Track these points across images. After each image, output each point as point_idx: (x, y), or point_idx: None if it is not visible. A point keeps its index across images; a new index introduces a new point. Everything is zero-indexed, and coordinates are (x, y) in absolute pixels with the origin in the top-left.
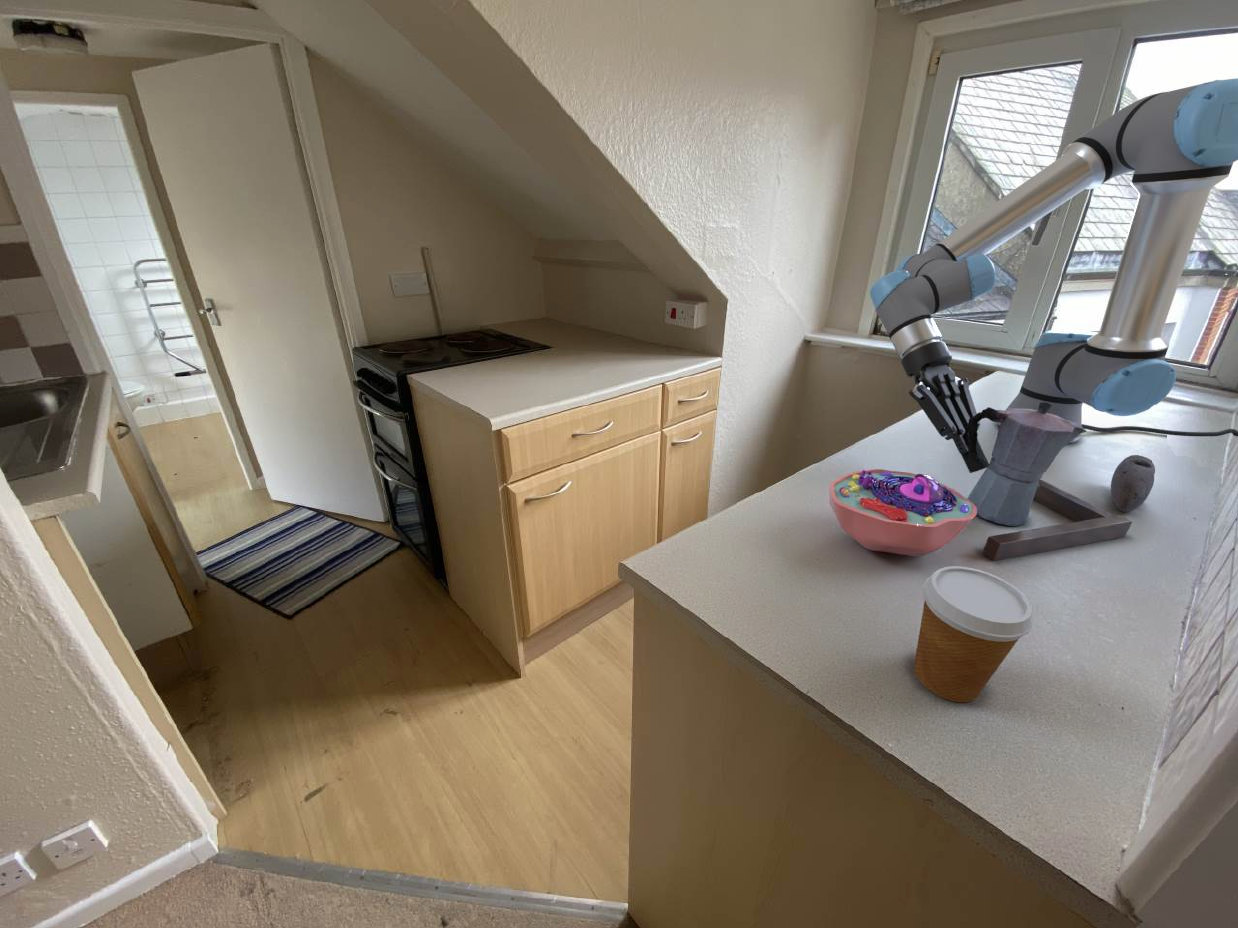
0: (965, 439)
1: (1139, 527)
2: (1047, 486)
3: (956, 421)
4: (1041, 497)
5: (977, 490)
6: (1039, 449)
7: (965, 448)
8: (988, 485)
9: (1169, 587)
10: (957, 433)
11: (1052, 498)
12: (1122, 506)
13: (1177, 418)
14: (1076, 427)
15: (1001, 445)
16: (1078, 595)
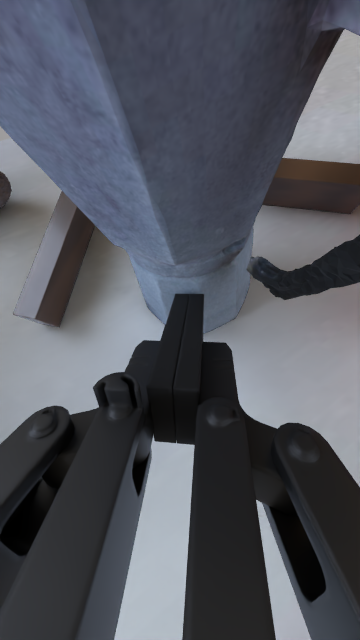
0: (206, 382)
1: (36, 176)
2: (49, 259)
3: (247, 496)
4: (71, 269)
5: (238, 292)
6: None
7: (231, 355)
8: (248, 258)
9: None
10: (249, 420)
11: (73, 247)
12: (9, 187)
13: None
14: None
15: (284, 152)
16: (307, 117)
